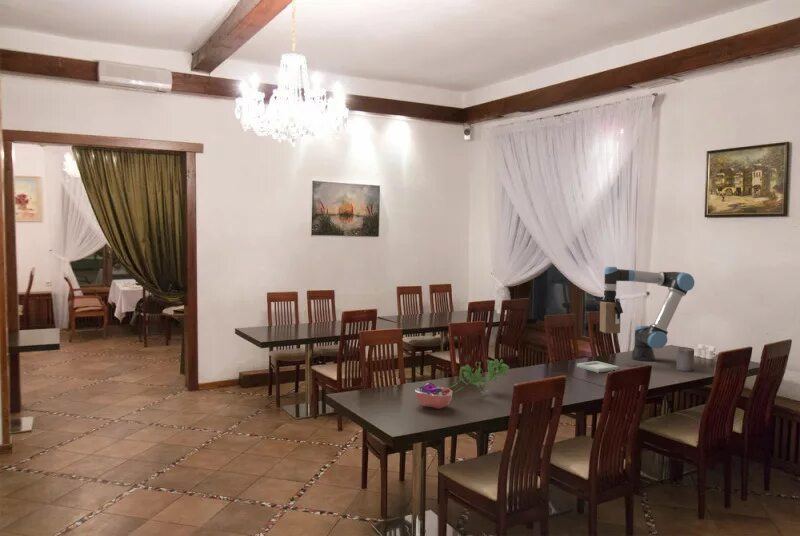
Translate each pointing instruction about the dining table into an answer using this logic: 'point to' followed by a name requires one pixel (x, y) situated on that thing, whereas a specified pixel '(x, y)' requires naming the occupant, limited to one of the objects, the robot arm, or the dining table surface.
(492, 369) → the plant cuttings
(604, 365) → the square tray
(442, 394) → the cell model
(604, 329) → the wooden block
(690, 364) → the pillar candle
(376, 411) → the dining table surface
